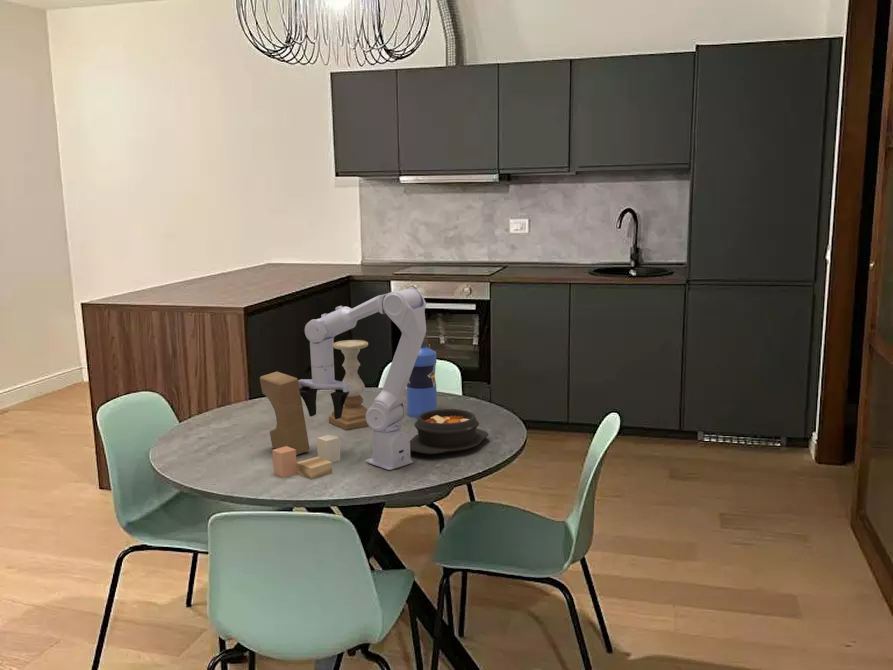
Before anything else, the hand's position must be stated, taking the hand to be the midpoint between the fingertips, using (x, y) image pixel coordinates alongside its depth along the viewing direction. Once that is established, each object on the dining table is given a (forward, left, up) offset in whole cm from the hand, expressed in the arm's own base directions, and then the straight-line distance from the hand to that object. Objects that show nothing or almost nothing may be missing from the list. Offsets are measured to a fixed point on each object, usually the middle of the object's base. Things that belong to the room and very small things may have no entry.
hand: (325, 416), depth 208 cm
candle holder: (+17, -22, -10) cm, 30 cm away
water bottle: (+9, -42, -10) cm, 44 cm away
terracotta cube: (-5, +16, -10) cm, 19 cm away
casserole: (-19, -25, -10) cm, 33 cm away
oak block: (-10, +11, -10) cm, 18 cm away
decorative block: (+9, +5, -10) cm, 14 cm away
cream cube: (-5, +3, -10) cm, 11 cm away
